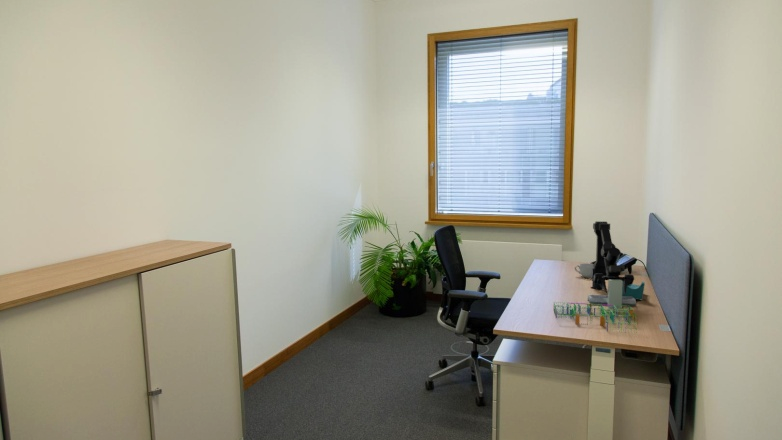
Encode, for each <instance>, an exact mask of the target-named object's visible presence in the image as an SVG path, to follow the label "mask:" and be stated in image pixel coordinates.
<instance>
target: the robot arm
mask: <svg viewBox="0 0 782 440" xmlns="http://www.w3.org/2000/svg"><path fill="white" fill-rule="evenodd" d="M592 229H593V233H594V234H595V236H596V249H595V250H596V253H595V255H596V256H595V262H594V265H593V268H592V270H591V278H590V279H592V283H591V285H592V286H590V288H591V289H594V290H598V291H602V290H603V291H604V293H605V294H608V287H607V285H606V281H609V279H613V280H622V281H623V282H624V283H623V290H624V294H625V293H626V289H627V286H629V285H631V284H633V283H634V280H635V276H634V275H633V274H631V273H630V274H624V276H620V275H621V272H624V271H625V269H626V268H625V264H622V263H621V264H618V261H619V258H620V255H621V250H620V249H619V248H618V247H617V246H616V245H615V244H614V243H613V240H612V236H611V231H610V230H611V223H608V221H600V220H599V221H597V220H596V221H594V223H593V224H592ZM593 275H594V276H593Z"/></svg>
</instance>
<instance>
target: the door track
mask: <svg viewBox="0 0 782 440" xmlns="http://www.w3.org/2000/svg"><path fill="white" fill-rule="evenodd" d="M636 300H637V299H634V298H633V297H632V296H622V305H624V306H623V307H629V306H630V307H637V303H636ZM587 303H588V304H605V305H604V306H608V294H607V295H604V294H587Z"/></svg>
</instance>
